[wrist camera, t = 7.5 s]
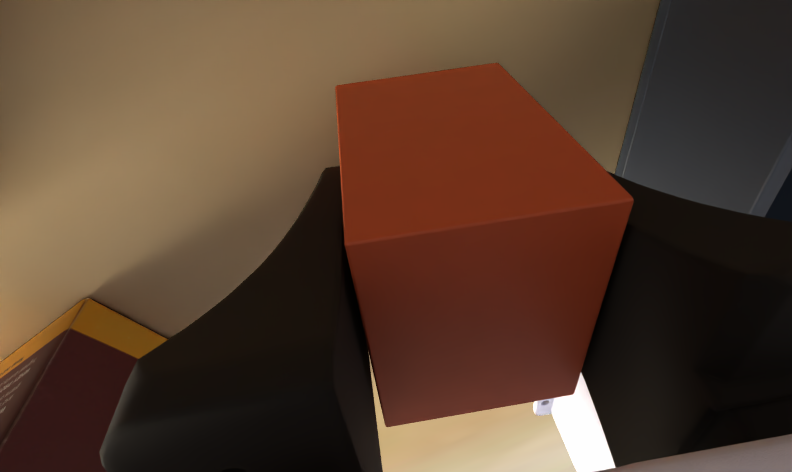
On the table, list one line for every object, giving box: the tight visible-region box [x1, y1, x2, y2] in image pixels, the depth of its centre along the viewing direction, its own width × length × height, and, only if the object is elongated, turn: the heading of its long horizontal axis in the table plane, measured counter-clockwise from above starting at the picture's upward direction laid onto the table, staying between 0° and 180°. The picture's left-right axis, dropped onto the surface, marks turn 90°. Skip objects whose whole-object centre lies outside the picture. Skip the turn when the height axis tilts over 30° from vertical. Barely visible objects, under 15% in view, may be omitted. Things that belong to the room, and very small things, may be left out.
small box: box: [335, 63, 634, 427], centre depth 10 cm, size 5×4×6 cm
